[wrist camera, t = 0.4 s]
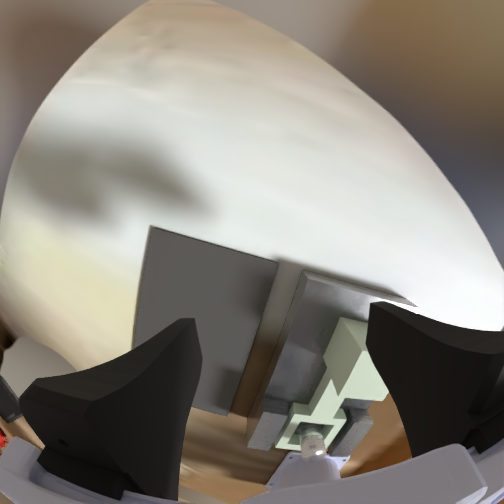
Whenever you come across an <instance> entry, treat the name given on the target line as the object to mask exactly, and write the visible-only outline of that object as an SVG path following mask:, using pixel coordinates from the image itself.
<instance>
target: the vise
mask: <svg viewBox="0 0 504 504" xmlns="http://www.w3.org/2000/svg"><path fill="white" fill-rule="evenodd" d="M379 301H385V302H389V303H392V304H394V305H397V306H400V307H402V308H405V309H407V310H410V311H412V312H415V313H417V314H418V313H419V311H420V308H418V307H417V306H416V305H414V304H413V303H412V302H410V301H409V300H407V299H405V298H401V297H398V296H394V295H391V294H387V293H383V292H380V291H376V290H373V289H369V288H366V287H362V286H358V285H355V284H351V283H348V282H344V281H341V280H337V279H334V278H330V277H326V276H323V275H319V274H316V273H312V272H309V271H305V270H303V271H302V274H301V277H300V280H299V283H298V286H297V289H296V292H295V295H294V298H293V301H292V304H291V307H290V310H289V312H288V315H287V318H286V321H285V324H284V326H283V329H282V332H281V335H280V337H279V340H278V343H277V345H276V348H275V351H274V353H273V356H272V359H271V361H270V364H269V366H268V369H267V371H266V374H265V376H264V379H263V381H262V384H261V386H260V389H259V391H258V394H257V396H256V399H255V401H254V403H253V406H252V408H251V411H250V413H249V415H248V418H247V428H246V436H247V447H246V448H252V449H258V450H264V451H269V450H270V448H271V446H272V445H273V443H274V441H275V439H276V438H277V436H278V434H279V432H280V431H281V429H282V427H283V425H284V423H285V422H286V420H287V418H288V411H289V409H290V407H291V405H292V403H293V402H294V403H300V404H307V405H308V404H309V403H310V401H311V399H312V397H313V395H314V393H315V391H316V389H317V387H318V385H319V384H320V382H321V380H322V378H323V376H324V374H325V372H326V369H327V366H326V363H325V361H324V358H323V356H324V354H325V351H326V349H327V347H328V345H329V342H330V340H331V338H332V335H333V333H334V331H335V328H336V326H337V324H338V321H339V319H340V317H343V318H347V319H352V320H356V321H360V322H365V323H368V318H369V308H370V303H372V302H379ZM372 402H373V400H364V399H353V398H345V399H344V400H343V402H342V404H341V405H340V407H339V408H340V409H343V410H344V413H345V416H346V418H347V420H346V422H345V423H344V425H343V426H342V428H341V429H340V430H339V432H338V433H337V435H336V436H335V438H334V439H333V440H332V442H331V443H330V444H329V446H328V451H329V456H330V457H348V456H349V455H350V454H351V453H352V451H353V450H354V449H355V448H356V446H357V445H358V444H359V443H360V441H361V440H362V439H363V437H364V436H365V435H366V433H367V432H368V431H369V429H370V428H371V426H372V425H373V424H374V423H373V421H372V419H371V417H370V415H369V413H368V408H369V406H370V405H371V403H372ZM324 425H325V424H317V423H308V422H300V423H299V425H298V426H297V428H296V430H295V431H294V433H293V434H299V440H300V447H301V454H302V459H303V460H304V461H306V462H315V461H319V460H321V459H323V458H324V457H325V456H326V454H327V452H326V448H325V444H324V439H323V435H322V431H321V430H322V428H323V427H324Z"/></svg>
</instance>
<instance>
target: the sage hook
mask: <svg viewBox="0 0 504 504" xmlns="http://www.w3.org/2000/svg"><path fill="white" fill-rule="evenodd" d="M367 327H368V323H365V322H360V321H356V320H352V319H347V318H343V317H340V319H339V321H338V324H337V326H336V328H335V331H334V333H333V335H332V338H331V340H330V342H329V345H328V347H327V349H326V351H325V354H324V356H323V358H324V361H325V363H326V366H327V369H326V372H325V374H324V376H323V378H322V380H321V382H320V384H319V385H318V387H317V389H316V391H315V393H314V395H313V397H312V399H311V401H310V403H309V404H308V405H307V404H300V403H294V402H293V403H292V405H291V407H290V409H289V411H288V418H287V420H286V422H285V423H284V425H283V427H282V429H281V431H280V432H279V434H278V436H277V438H276V439H275V448H282V449H290V450H300V451H301V447H300V440H299V434H293V433H294V431H295V430H296V428H297V426H298V425H299V423H300V422H308V423H317V424H325V425H324V427H323V428H322V430H321V431H322V435H323V439H324V444H325V448H326V449H327V447H328V446H329V444H330V443H331V442H332V440H333V439H334V438H335V436H336V435H337V433H338V432H339V430H340V429H341V428H342V426H343V425H344V423H345V422H346V420H347V418H346V416H345V413H344V410H343V409H340V408H339V407H340V405H341V404H342V402H343V400H344V399H345V398H353V399H364V400H377V401H383V400H384V398H385V397H386V395H387V393H388V392H389V391H388V389H387V387H386V385H385V384H384V382H383V380H382V378H381V377H380V375H379V373H378V371H377V370H376V368H375V366H374V364H373V362H372V360H371V358H370V355H369V353H368V350H367V347H366V344H365V343H366V335H367Z"/></svg>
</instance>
